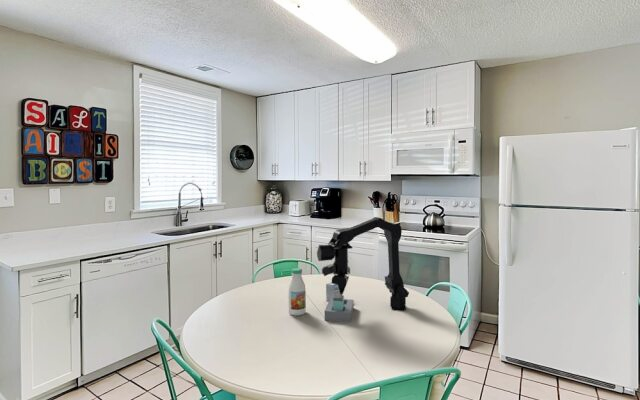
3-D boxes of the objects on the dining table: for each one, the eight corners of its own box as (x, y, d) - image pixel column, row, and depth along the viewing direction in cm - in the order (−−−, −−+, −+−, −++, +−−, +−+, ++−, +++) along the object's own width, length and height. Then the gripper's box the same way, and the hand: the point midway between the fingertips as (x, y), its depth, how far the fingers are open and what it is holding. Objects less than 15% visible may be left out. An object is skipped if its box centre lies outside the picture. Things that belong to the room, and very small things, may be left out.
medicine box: (333, 302, 174) (333, 285, 173) (325, 300, 177) (325, 283, 176) (342, 298, 180) (342, 281, 180) (335, 296, 183) (335, 279, 182)
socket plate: (353, 308, 167) (353, 299, 167) (350, 321, 151) (350, 312, 151) (330, 306, 169) (330, 298, 169) (324, 320, 153) (324, 311, 153)
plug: (343, 315, 158) (343, 295, 157) (342, 319, 154) (342, 298, 153) (334, 315, 158) (334, 294, 158) (333, 318, 154) (333, 297, 154)
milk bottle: (285, 314, 160) (284, 270, 158) (294, 308, 167) (293, 266, 165) (300, 317, 156) (299, 272, 155) (308, 311, 163) (308, 268, 162)
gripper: (326, 253, 167) (326, 286, 168) (319, 263, 149) (319, 300, 150) (350, 254, 165) (350, 287, 166) (346, 264, 147) (346, 301, 148)
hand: (341, 294), depth 158 cm, fingers closed
